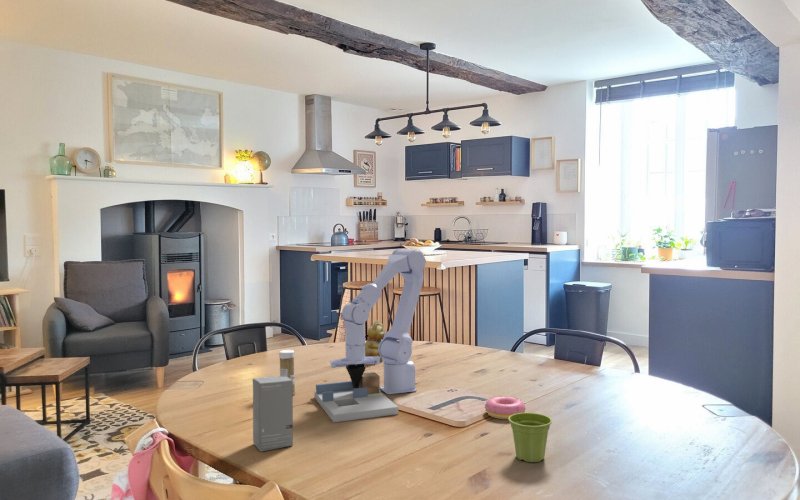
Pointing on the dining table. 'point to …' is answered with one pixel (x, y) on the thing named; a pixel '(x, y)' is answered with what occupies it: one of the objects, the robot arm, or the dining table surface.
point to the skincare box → (272, 412)
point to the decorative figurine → (374, 340)
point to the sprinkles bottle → (287, 365)
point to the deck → (352, 402)
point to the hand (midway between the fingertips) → (355, 389)
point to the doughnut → (504, 407)
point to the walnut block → (370, 382)
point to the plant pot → (530, 435)
